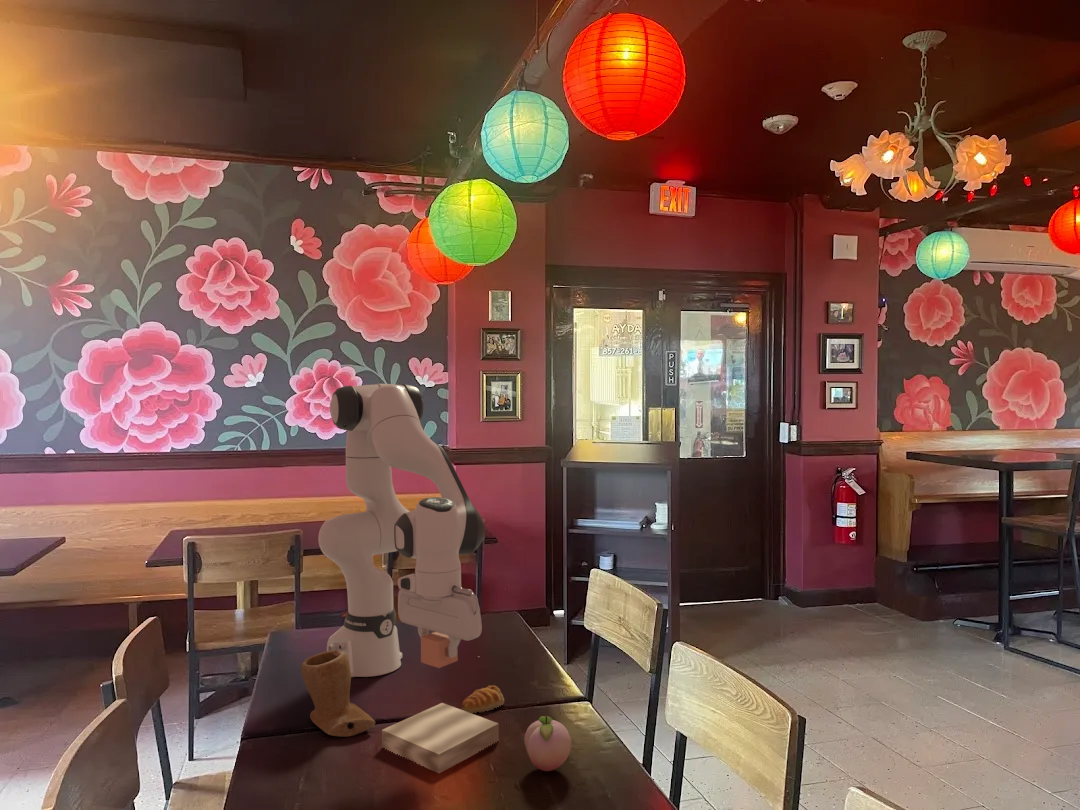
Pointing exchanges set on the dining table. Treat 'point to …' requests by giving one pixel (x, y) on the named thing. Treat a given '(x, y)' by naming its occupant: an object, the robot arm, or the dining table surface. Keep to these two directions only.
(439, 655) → the terracotta block
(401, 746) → the birch base
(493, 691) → the pastry
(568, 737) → the decorative fruit
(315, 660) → the cork boot vase
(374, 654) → the robot arm
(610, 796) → the dining table surface
